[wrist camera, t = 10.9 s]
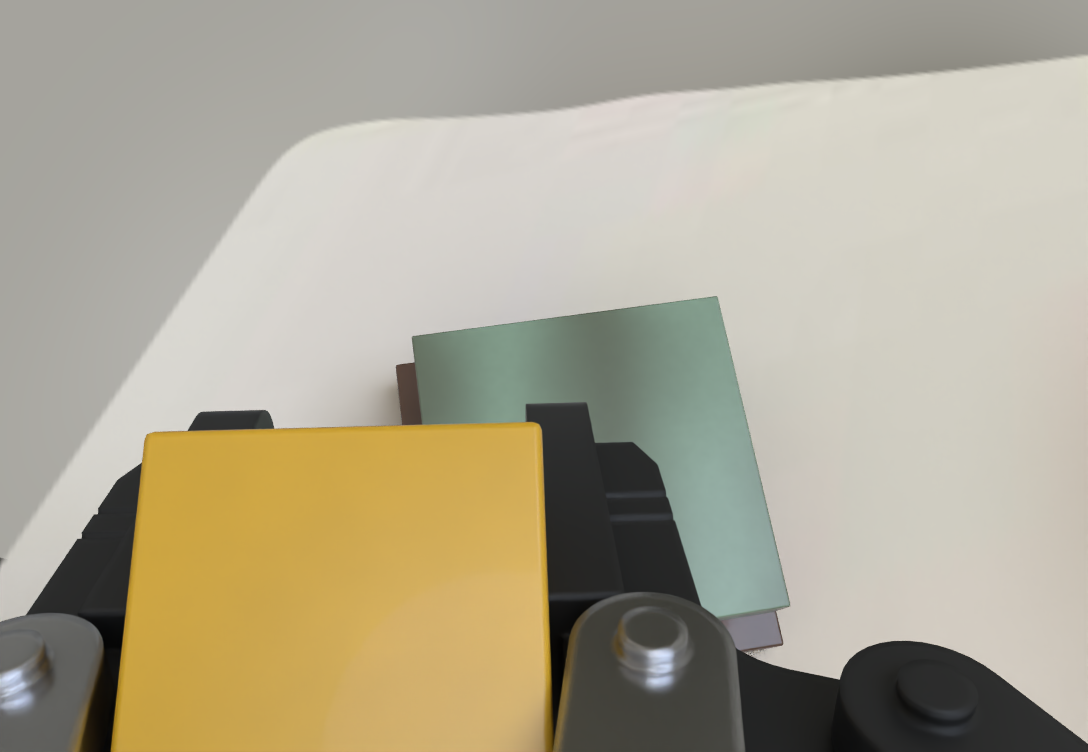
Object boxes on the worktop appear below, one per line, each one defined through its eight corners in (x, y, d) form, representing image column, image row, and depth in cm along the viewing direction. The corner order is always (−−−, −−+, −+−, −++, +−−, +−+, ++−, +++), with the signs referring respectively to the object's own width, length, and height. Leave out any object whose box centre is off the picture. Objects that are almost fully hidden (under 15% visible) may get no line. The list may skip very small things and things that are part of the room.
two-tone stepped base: (437, 702, 32) (418, 704, 26) (401, 381, 36) (376, 310, 30) (769, 648, 33) (832, 635, 27) (699, 340, 37) (740, 264, 31)
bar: (339, 775, 14) (91, 879, 6) (345, 580, 15) (140, 429, 7) (531, 766, 15) (559, 858, 6) (525, 573, 16) (541, 417, 7)
